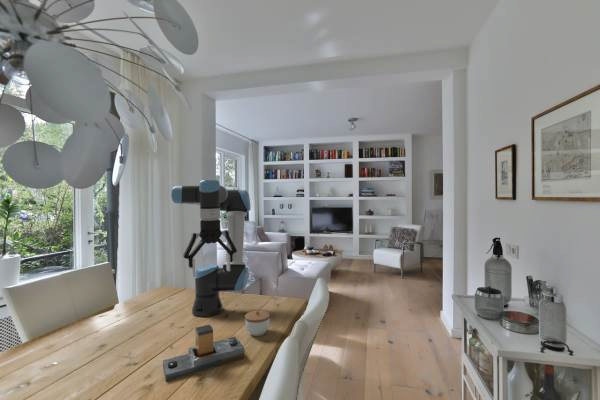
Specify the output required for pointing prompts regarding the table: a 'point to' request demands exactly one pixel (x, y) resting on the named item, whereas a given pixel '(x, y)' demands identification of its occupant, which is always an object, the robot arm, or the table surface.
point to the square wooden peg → (204, 341)
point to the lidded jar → (257, 322)
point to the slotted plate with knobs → (203, 359)
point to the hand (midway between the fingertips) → (211, 273)
